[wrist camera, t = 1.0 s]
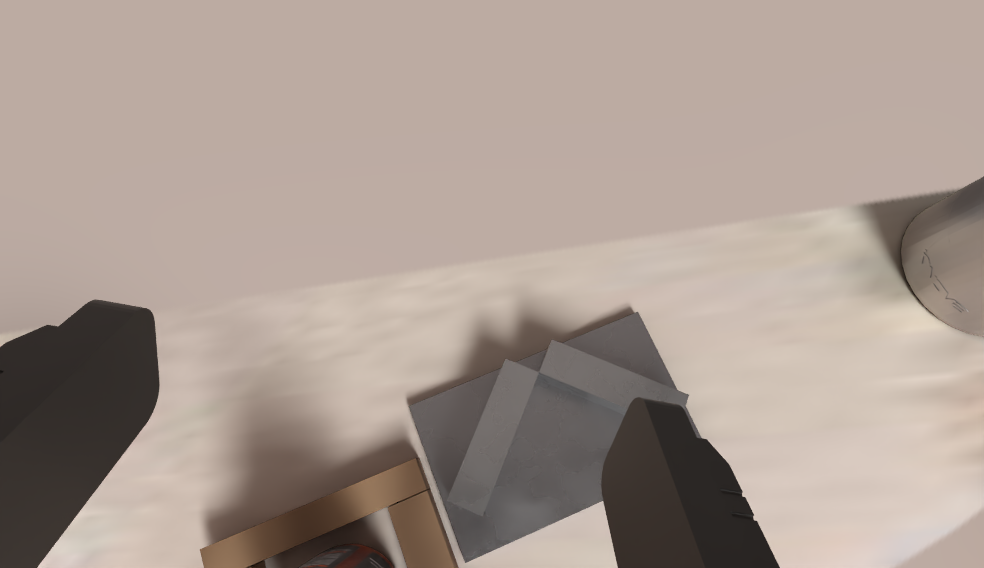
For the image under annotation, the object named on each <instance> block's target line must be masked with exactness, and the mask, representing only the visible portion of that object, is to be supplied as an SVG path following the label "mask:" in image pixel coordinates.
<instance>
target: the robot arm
mask: <svg viewBox="0 0 984 568" xmlns="http://www.w3.org/2000/svg"><path fill="white" fill-rule="evenodd" d="M901 256H902V266H903V269H904V272H905V275H906V279H907V281H908V283H909V284H910V286H911V288H912V290H913V292H914V294H915V295H916V296H917V297H918V299H919V300H920V301H921V302H922V304H923V305H924V306H925V307H926V308H927V309H928V310H929V311H930V312H932V313H933V314H934V315H935V316H936V317H937V318H939V319H940V320H942V321H943V322H945V323H947V324H948V325H950V326H951V327H954V328H956V329H958V330H961V331H963V332H965V333H968V334H973V335H977V336H982V337H984V177H982V178H981V179H979V180H977V181H975V182H973V183H971V184H969V185H968V186H966V187H964V188H962V189H961V190H959V191H957V192H955V193H954V194H952V195H950V196H948V197H946V198H945V199H943V200H941V201H939V202H938V203H936V204H934V205H932V206H931V207H929V208H927V209H926V210H924V211H923V212H921V213H920V214H919V215H917V216H916V217H915V218H914V219H913V221H912V222H911V223H910V224H909V226H908V228H907V230H906V232H905V234H904V237H903V241H902V248H901ZM158 394H159V371H158V358H157V345H156V332H155V321H154V316H153V314H152V312H151V311H150V310H149V309H147V308H142V307H136V306H130V305H125V304H119V303H113V302H107V301H102V300H92V301H90V302H88V303H87V304H85V305H84V306H83V307H82V308H80V309H79V310H78V311H77V312H76V313H74V314H73V315H72V316H71V317H70V318H68V319H67V320H66V321H65V322H63V323H62V324H61V325H60V326H59V327H57V326H51V325H46V326H44V327H41V328H39V329H37V330H34V331H32V332H30V333H27V334H25V335H23V336H20V337H18V338H16V339H13V340H11V341H9V342H7V343H5V344H4V345H3V346H1V347H0V568H37V567H38V566H39V564H40V563H41V562H42V560H43V559H44V558H45V556H46V555H47V554H48V552H49V551H50V550H51V548H52V547H53V546H54V545H55V543H56V542H57V541H58V539H59V538H60V537H61V535H62V534H63V533H64V531H65V530H66V529H67V527H68V526H69V525H70V523H71V522H72V521H73V519H74V518H75V517H76V516H77V514H78V513H79V512H80V510H81V509H82V508H83V506H84V505H85V504H86V502H87V501H88V500H89V498H90V497H91V496H92V494H93V493H94V492H95V490H96V489H97V488H98V487H99V485H100V484H101V483H102V481H103V480H104V479H105V477H106V476H107V475H108V473H109V472H110V471H111V469H112V468H113V467H114V465H115V464H116V463H117V461H118V460H119V459H120V458H121V456H122V455H123V454H124V452H125V451H126V450H127V448H128V447H129V446H130V444H131V443H132V442H133V440H134V439H135V438H136V436H137V435H138V434H139V432H140V431H141V430H142V429H143V427H144V426H145V425H146V423H147V422H148V420H149V418H150V417H151V415H152V413H153V410H154V408H155V405H156V402H157V398H158ZM601 489H602V497H603V501H604V506H605V511H606V515H607V520H608V524H609V529H610V533H611V538H612V543H613V547H614V552H615V556H616V561H617V566H618V568H780V567H779V565H778V563H777V561H776V559H775V557H774V555H773V553H772V551H771V549H770V547H769V545H768V543H767V541H766V539H765V537H764V535H763V532H762V530H761V528H760V526H759V524H758V522H757V521H754V519H753V516H754V514H753V512H752V510H751V508H750V506H749V504H748V502H747V500H746V498H745V497H742V490H741V488H740V486H739V484H738V482H737V479H736V477H735V475H734V473H733V471H732V469H731V467H730V465H729V464H728V463H727V462H726V460H725V459H724V458H723V457H722V456H721V455H720V454H719V453H718V452H717V450H716V449H715V448H714V447H713V446H712V445H711V444H710V443H709V442H708V440H707V439H702V438H697V437H696V434H695V432H694V430H693V428H692V425H691V423H690V421H689V419H688V416H687V414H686V412H685V410H684V408H683V407H682V406H681V405H679V404H674V403H668V402H663V401H657V400H652V399H646V398H640V397H637V398H635V399H634V400H633V401H632V402H631V403H630V405H629V407H628V409H627V411H626V414H625V416H624V418H623V420H622V423H621V425H620V427H619V429H618V431H617V434H616V436H615V438H614V440H613V443H612V445H611V447H610V449H609V451H608V454H607V456H606V458H605V461H604V465H603V470H602V478H601Z"/></svg>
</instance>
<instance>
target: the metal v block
mask: <svg viewBox="0 0 984 568" xmlns="http://www.w3.org/2000/svg"><path fill="white" fill-rule="evenodd" d="M688 396H689V395H688V394H685V393H683V392H680V391H678V390H677V388H676V386H675V384H674V382H673V380H672V378H671V376H670V374H669V372H668V370H667V369H666V367H665V365H664V363H663V361H662V359H661V357H660V355H659V353H658V351H657V349H656V347H655V345H654V343H653V341H652V339H651V337H650V335H649V333H648V331H647V329H646V327H645V325H644V323H643V321H642V319H641V317H640V315H639V313H638V312H636V313H634V314H631V315H629V316H626V317H624V318H622V319H619V320H617V321H614V322H612V323H609V324H607V325H605V326H602V327H600V328H597V329H595V330H592V331H590V332H588V333H585V334H583V335H580V336H578V337H575V338H573V339H571V340H568V341H566V342H563V343H560V342H557V341H555V340H551V342H550V344H549V346H548V348H547V349H546V350H544V351H541V352H539V353H537V354H534V355H532V356H529V357H527V358H524V359H522V360H520V361H517V362H513V361H510V360H508V359H506V358H505V361H504V363H503V365H502V368H500V369H498V370H495V371H493V372H490V373H488V374H486V375H483V376H481V377H478V378H476V379H473V380H471V381H469V382H466V383H464V384H461V385H459V386H456V387H454V388H452V389H449V390H447V391H444V392H442V393H439V394H437V395H435V396H432V397H430V398H427V399H425V400H422V401H420V402H418V403H415V404H413V405H410V406H409V408H410V411H411V414H412V416H413V419H414V422H415V425H416V427H417V430H418V433H419V436H420V438H421V441H422V444H423V447H424V450H425V452H426V455H427V458H428V461H429V463H430V466H431V469H432V472H433V474H434V477H435V480H436V483H437V486H438V488H439V491H440V494H441V497H442V499H443V502H444V505H445V508H446V510H447V513H448V516H449V519H450V522H451V524H452V527H453V530H454V533H455V535H456V538H457V541H458V544H459V546H460V549H461V552H462V555H463V558H464V560H465V563H466V562H469V561H471V560H473V559H475V558H477V557H480V556H482V555H484V554H486V553H488V552H491V551H493V550H495V549H497V548H499V547H502V546H504V545H506V544H508V543H511V542H513V541H515V540H517V539H519V538H522V537H524V536H526V535H528V534H530V533H533V532H535V531H537V530H539V529H541V528H544V527H546V526H548V525H550V524H552V523H555V522H557V521H559V520H561V519H564V518H566V517H568V516H570V515H572V514H575V513H577V512H579V511H581V510H583V509H586V508H588V507H590V506H592V505H594V504H597V503H599V502H601V501H603V497H602V489H601V478H602V470H603V465H604V461H605V458H606V456H607V454H608V451H609V449H610V447H611V445H612V443H613V440H614V438H615V436H616V434H617V431H618V429H619V427H620V425H621V423H622V420H623V418H624V416H625V414H626V411H627V409H628V407H629V405H630V403H631V402H632V401H633V400H634V399H635V398H637V397H640V398H646V399H652V400H657V401H663V402H668V403H674V404H679V405H681V406H682V407H683V408H684V410H685V412H686V414H687V416H688V419H689V421H690V423H691V425H692V428H693V430H694V432H695V434H696V437H697V438H701V436H700V434H699V432H698V430H697V428H696V426H695V424H694V422H693V420H692V418H691V416H690V414H689V412H688V410H687V408H686V403H687V399H688Z"/></svg>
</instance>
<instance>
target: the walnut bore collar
mask: <svg viewBox="0 0 984 568" xmlns="http://www.w3.org/2000/svg"><path fill="white" fill-rule="evenodd" d="M429 488H430V487H429V484H428V481H427V478H426V475H425V473H424V470H423V467H422V464H421V461H420V459H419V458H415V459H412V460H410V461H408V462H405V463H403V464H401V465H398V466H396V467H393V468H391V469H389V470H386V471H384V472H382V473H379V474H377V475H375V476H372V477H370V478H367V479H365V480H363V481H360V482H358V483H356V484H353V485H351V486H349V487H346V488H344V489H342V490H339V491H337V492H334V493H332V494H330V495H327V496H325V497H323V498H320V499H318V500H316V501H313V502H311V503H309V504H306V505H304V506H301V507H299V508H297V509H294V510H292V511H290V512H287V513H285V514H283V515H280V516H278V517H275V518H273V519H271V520H268V521H266V522H264V523H261V524H259V525H257V526H254V527H252V528H250V529H247V530H245V531H242V532H240V533H238V534H235V535H233V536H231V537H228V538H226V539H224V540H221V541H219V542H217V543H214V544H212V545H209V546H207V547H205V548H202V549H200V552H201V556H202V561H203V565H204V568H246V567H248V566H251V565H253V564H255V563H258V562H260V561H262V560H265V559H267V558H269V557H272V556H274V555H276V554H278V553H281V552H283V551H285V550H288V549H290V548H292V547H295V546H297V545H299V544H302V543H304V542H306V541H309V540H311V539H313V538H316V537H318V536H320V535H322V534H325V533H327V532H329V531H332V530H334V529H336V528H339V527H341V526H343V525H346V524H348V523H350V522H353V521H355V520H357V519H359V518H362V517H364V516H366V515H369V514H371V513H373V512H376V511H378V510H380V509H383V508H385V507H387V506H390V505H392V504H394V503H396V504H394V505H392V506H390V507H388V510H389V513H390V516H391V519H392V522H393V525H394V528H395V531H396V534H397V537H398V540H399V543H400V546H401V549H402V552H403V555H404V558H405V562H406V565H407V568H458V565H457V562H456V559H455V557H454V554H453V551H452V548H451V545H450V543H449V540H448V537H447V534H446V531H445V529H444V526H443V523H442V520H441V517H440V515H439V512H438V509H437V506H436V503H435V501H434V498H433V495H432V492H431V489H429ZM427 489H429V490H427ZM424 490H427V491H424ZM422 491H424V492H422ZM420 492H422V493H420ZM417 493H420V494H417ZM415 494H417V495H415ZM413 495H415V496H413ZM410 496H413V497H410ZM408 497H410V498H408ZM406 498H408V499H406ZM403 499H406V500H403ZM401 500H403V501H401ZM399 501H401V502H399ZM397 502H399V503H397ZM248 568H266V566H265V562H264V561H262V562H260V563H258V564H255V565H253V566H251V567H248Z"/></svg>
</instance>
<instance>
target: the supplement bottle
mask: <svg viewBox="0 0 984 568" xmlns="http://www.w3.org/2000/svg"><path fill="white" fill-rule="evenodd" d="M298 568H394V567H393V565H392V564H391V563H390V561H389V560H388V559H387V558H386V557H385V556H383V555H382V554H381V553H379V552H378V551H376V550H374V549H372V548H370V547H367V546H364V545H360V544H346V545H340V546H336V547H333V548H331V549H329V550H326V551H324V552H322V553H321V554H319V555H317V556H316V557H314V558H312V559H311V560H309V561H308V562H306V563H305V564H303V565H301V566H300V567H298Z"/></svg>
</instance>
